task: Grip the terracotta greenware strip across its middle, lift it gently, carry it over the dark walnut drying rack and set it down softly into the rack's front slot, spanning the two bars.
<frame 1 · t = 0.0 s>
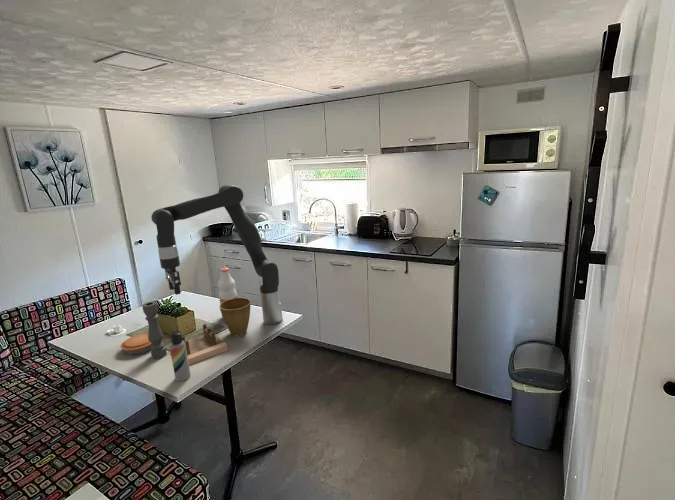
hand: (175, 291, 158), 29 cm above the table, fingers open, 8 cm apart
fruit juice: (231, 316, 200), on the table
teacup and saucer: (117, 331, 191), on the table
pie: (141, 348, 171), on the table
rack: (198, 346, 169), on the table
candle holder: (159, 355, 163), on the table
lotion bottle: (183, 377, 145), on the table
strip: (206, 356, 160), on the table
plant pot: (238, 333, 180), on the table
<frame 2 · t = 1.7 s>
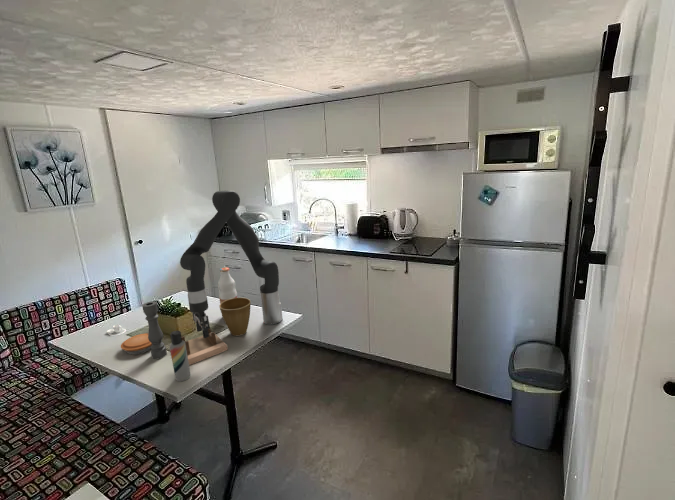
hand: (202, 334, 157), 11 cm above the table, fingers open, 8 cm apart
nothing on the table moved.
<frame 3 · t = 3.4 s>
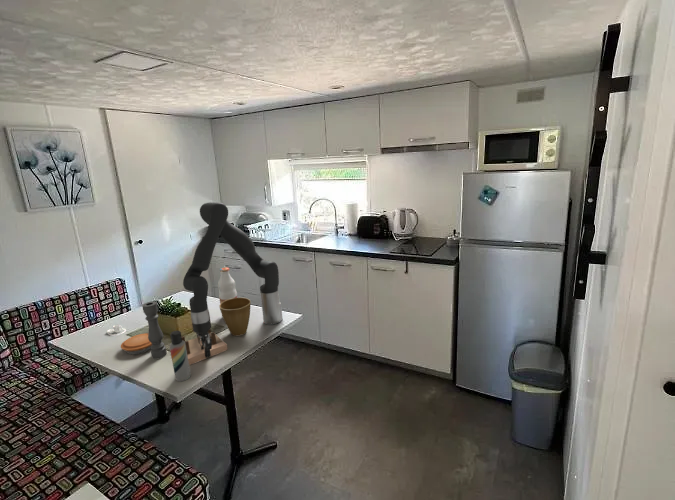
hand: (206, 354, 160), 1 cm above the table, fingers closed on strip, 3 cm apart
strip: (206, 356, 160), on the table, touching gripper
everything else where it was.
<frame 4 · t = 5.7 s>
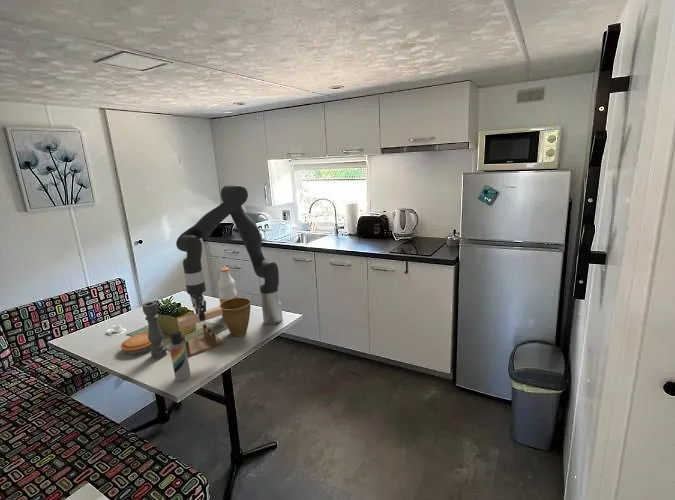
hand: (201, 318, 156), 18 cm above the table, fingers closed on strip, 3 cm apart
strip: (201, 320, 156), point 17 cm above the table, touching gripper
everything else where it was.
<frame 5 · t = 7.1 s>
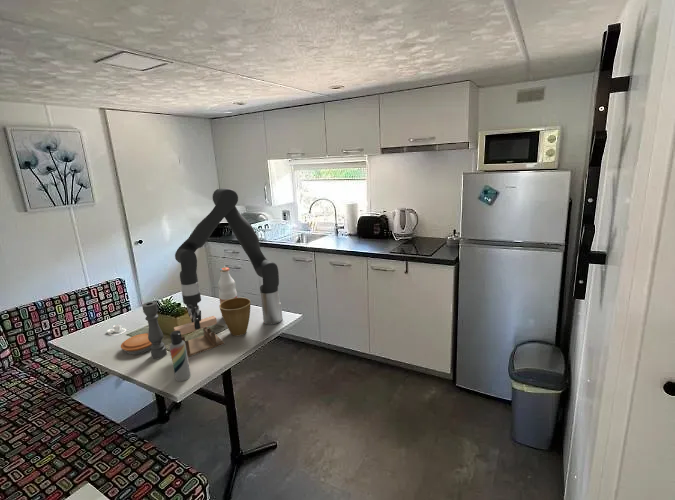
hand: (196, 327, 164), 11 cm above the table, fingers closed on strip, 3 cm apart
strip: (196, 328, 164), point 10 cm above the table, touching gripper
everything else where it was.
when the fingers open (6 cm above the table, at t = 8.2 s): strip stays where it is, resting on rack.
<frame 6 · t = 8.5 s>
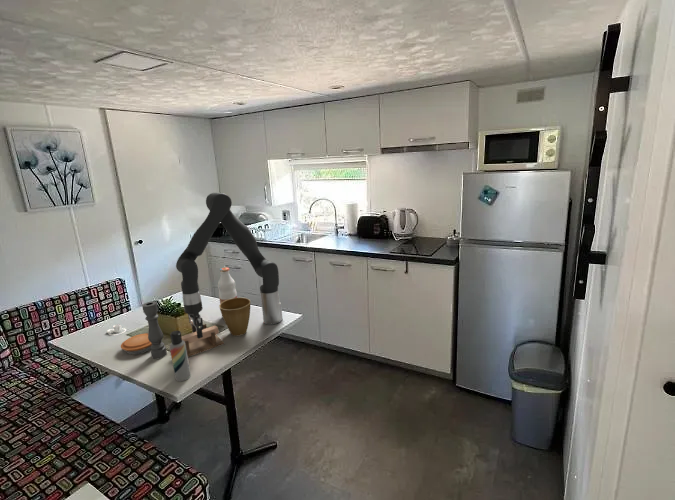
hand: (197, 335, 165), 7 cm above the table, fingers open, 6 cm apart
strip: (198, 338, 166), point 5 cm above the table, touching rack
everything else where it was.
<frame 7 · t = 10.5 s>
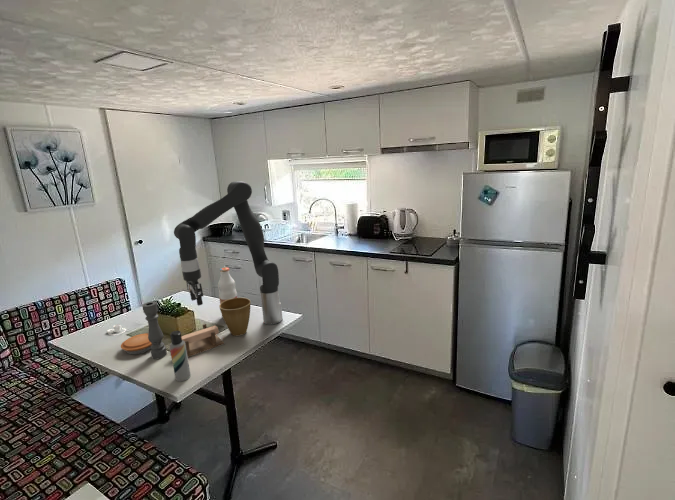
hand: (197, 302, 164), 22 cm above the table, fingers open, 8 cm apart
nothing on the table moved.
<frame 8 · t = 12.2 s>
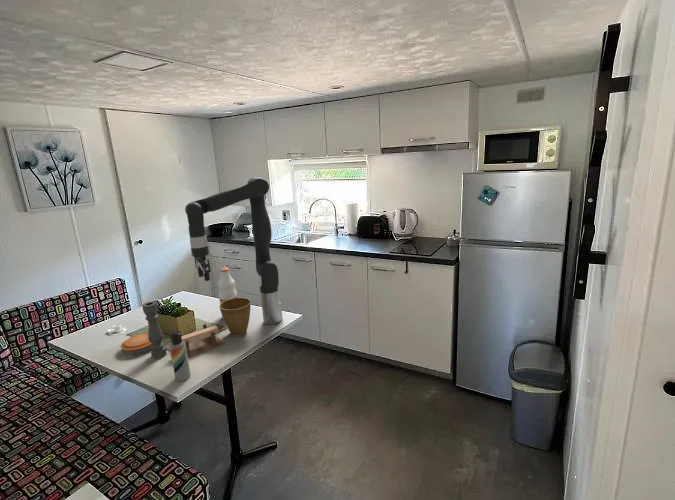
hand: (204, 278, 171), 30 cm above the table, fingers open, 8 cm apart
nothing on the table moved.
at the end: strip 0.0 cm from the target spot on the rack, point 5.0 cm above the rack's base; strip tilted 0°; the gripper is holding nothing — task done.
